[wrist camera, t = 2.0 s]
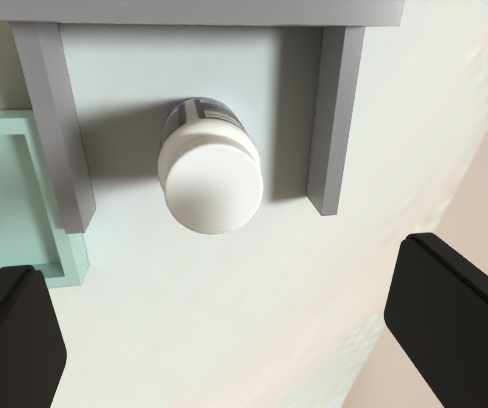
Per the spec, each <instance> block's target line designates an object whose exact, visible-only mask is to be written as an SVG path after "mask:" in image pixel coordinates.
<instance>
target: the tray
mask: <svg viewBox="0 0 488 408" xmlns="http://www.w3.org/2000/svg"><path fill="white" fill-rule="evenodd" d="M17 265H32V266H33V267H34V268H35V270H41V271H42V273H43V275H44V278H45V282H46V285H47V288H59V287H70V286H81V285H82V283H83V280H84V278H85V275H86V272H87V270H88V267H89V265H90V264H89V260H88V256H87V252H86V247H85V243H84V239H83V235H82V233H76V234H66V233H65V230H64V226H63V222H62V218H61V214H60V211H59V207H58V203H57V199H56V195H55V192H54V188H53V184H52V180H51V177H50V173H49V169H48V165H47V161H46V158H45V154H44V150H43V146H42V142H41V139H40V135H39V131H38V127H37V124H36V120H35V116H34V112H33V109H18V110H0V269H1V268H2V267H5V266H17Z"/></svg>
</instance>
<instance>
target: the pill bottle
mask: <svg viewBox="0 0 488 408" xmlns="http://www.w3.org/2000/svg"><path fill="white" fill-rule="evenodd" d="M157 168H158V177H159V181H160V184H161V187H162V189H163V191H164V196H165V201H166V204H167V206H168V208H169V210H170V212H171V214H172V215H173V217H174V218H175V219H176V220H177V221H178V222H179V223H180V224H182V225H183V226H185V227H186V228H188V229H190V230H192V231H195V232H198V233H202V234H222V233H226V232H230V231H232V230H234V229H236V228H238V227H240V226H242V225H243V224H244V223H246V222H247V221H248V220H249V219H250V218H251V217H252V216H253V215H254V213H255V212H256V210H257V209H258V207H259V205H260V202H261V199H262V194H263V180H262V175H261V172H260V159H259V154H258V151H257V148H256V146H255V144H254V142H253V141H252V139H251V138H250V136H249V135H248V133H247V132H246V130H245V129H244V127H243V126H242V124H241V123H240V122H239V120H238V119H237V117H236V116H235V114H234V113H233V112H232V111H231V110H230V109H229V108H228V107H227V106H226V105H225V104H223V103H221V102H219V101H217V100H215V99H212V98H205V97H200V98H193V99H189V100H186V101H184V102H182V103H180V104H179V105H177V106H176V107H175V108H174V109H173V110H172V111H171V113H170V114H169V116H168V117H167V119H166V122H165V124H164V128H163V133H162V138H161V144H160V152H159V157H158V164H157Z"/></svg>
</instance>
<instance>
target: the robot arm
mask: <svg viewBox="0 0 488 408" xmlns="http://www.w3.org/2000/svg"><path fill="white" fill-rule="evenodd" d="M384 320H385V323H386V325H387V327H388V328H389V330H390V331H391V333H392V334H393V336H394V337H395V338H396V340H397V341H398V343H399V344H400V345H401V347H402V348H403V350H404V351H405V353H406V354H407V355H408V357H409V358H410V360H411V361H412V362H413V364H414V365H415V367H416V368H417V369H418V371H419V372H420V374H421V375H422V377H423V378H424V380H425V381H426V382H427V384H428V385H429V386H430V388H431V389H432V391H433V392H434V394H435V395H436V397H437V398H438V399H439V401H440V402H441V404H442V405H443V406H444V408H488V276H487V275H486V274H485V273H484V272H482V271H481V270H480V269H478V268H477V267H475V266H474V265H473V264H472V263H471V262H469V261H468V260H467V259H466V258H464V257H463V256H462V255H461V254H459V253H458V252H457V251H455V250H454V249H453V248H451V247H450V246H449V245H448V244H446V243H445V242H444V241H442V240H441V239H440V238H439V237H437V236H436V235H435V234H433V233H429V232H427V233H415V234H409V235H408V236H407V237H406V239H405V240H403V241H402V242H401V245H400V249H399V253H398V257H397V261H396V265H395V269H394V273H393V277H392V282H391V286H390V290H389V294H388V298H387V302H386V306H385V310H384ZM66 359H67V351H66V347H65V344H64V340H63V337H62V334H61V331H60V327H59V324H58V321H57V318H56V314H55V311H54V308H53V304H52V301H51V298H50V295H49V291H48V288H47V285H46V282H45V278H44V275H43V273H42V271H41V270H35V268H34V267H33V266H32V265H17V266H5V267H2V268H1V269H0V408H50V406H51V404H52V401H53V398H54V395H55V392H56V390H57V387H58V384H59V381H60V379H61V376H62V373H63V370H64V368H65V364H66Z"/></svg>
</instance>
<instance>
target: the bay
mask: <svg viewBox="0 0 488 408" xmlns="http://www.w3.org/2000/svg"><path fill="white" fill-rule="evenodd" d="M404 1H405V0H0V21H9V22H10V25H11V29H12V33H13V37H14V40H15V44H16V48H17V52H18V55H19V59H20V63H21V67H22V71H23V74H24V78H25V82H26V86H27V89H28V93H29V97H30V101H31V105H32V108H33V112H34V116H35V120H36V124H37V127H38V131H39V135H40V139H41V142H42V146H43V150H44V154H45V158H46V161H47V165H48V169H49V173H50V177H51V180H52V184H53V188H54V192H55V195H56V199H57V203H58V207H59V211H60V214H61V218H62V222H63V226H64V230H65V233H66V234H76V233H85V231H86V229H87V227H88V225H89V223H90V221H91V219H92V216H93V214H94V212H95V210H96V204H95V200H94V195H93V190H92V185H91V180H90V176H89V171H88V166H87V161H86V156H85V152H84V147H83V142H82V137H81V132H80V128H79V123H78V118H77V113H76V108H75V104H74V99H73V94H72V89H71V84H70V80H69V75H68V70H67V65H66V60H65V56H64V51H63V46H62V41H61V36H60V32H59V27H58V23H85V24H156V25H227V26H298V27H323V36H322V46H321V56H320V66H319V75H318V85H317V95H316V105H315V114H314V124H313V134H312V143H311V153H310V163H309V173H308V182H307V192H306V196H307V197H308V199H309V200H310V201H311V203H312V204H313V205H314V207H315V208H316V209H317V211H318V212H319V213H320V215H321V216H329V215H337V210H338V203H339V196H340V190H341V183H342V177H343V170H344V163H345V157H346V150H347V144H348V137H349V131H350V124H351V117H352V111H353V104H354V98H355V91H356V84H357V78H358V71H359V65H360V58H361V52H362V45H363V38H364V32H365V27H376V26H400V21H401V16H402V11H403V6H404Z"/></svg>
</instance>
